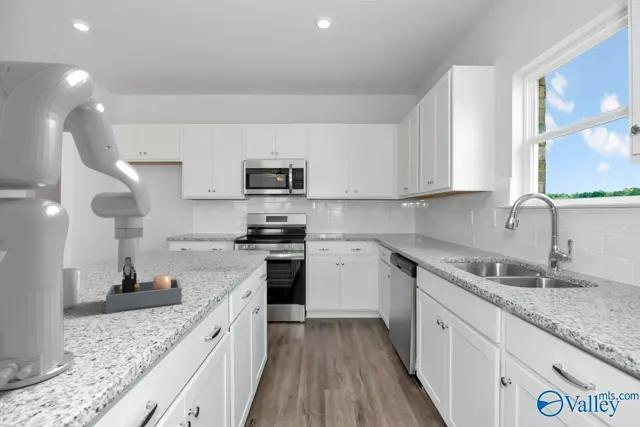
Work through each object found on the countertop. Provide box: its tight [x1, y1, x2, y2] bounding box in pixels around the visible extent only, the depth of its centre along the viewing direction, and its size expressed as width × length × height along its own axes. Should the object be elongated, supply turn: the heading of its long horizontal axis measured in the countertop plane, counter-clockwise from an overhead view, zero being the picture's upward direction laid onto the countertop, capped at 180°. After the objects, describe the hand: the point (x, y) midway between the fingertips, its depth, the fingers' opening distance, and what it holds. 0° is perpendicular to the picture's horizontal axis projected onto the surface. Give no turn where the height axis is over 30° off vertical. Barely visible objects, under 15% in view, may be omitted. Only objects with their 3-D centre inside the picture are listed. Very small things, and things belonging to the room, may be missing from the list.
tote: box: [105, 278, 183, 314], centre depth 100 cm, size 20×15×5 cm
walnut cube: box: [120, 284, 139, 294], centre depth 97 cm, size 5×5×5 cm
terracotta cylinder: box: [152, 274, 172, 290], centre depth 102 cm, size 5×5×7 cm
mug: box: [63, 267, 81, 310], centre depth 96 cm, size 12×9×11 cm
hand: (129, 288), depth 97 cm, fingers open, 9 cm apart
